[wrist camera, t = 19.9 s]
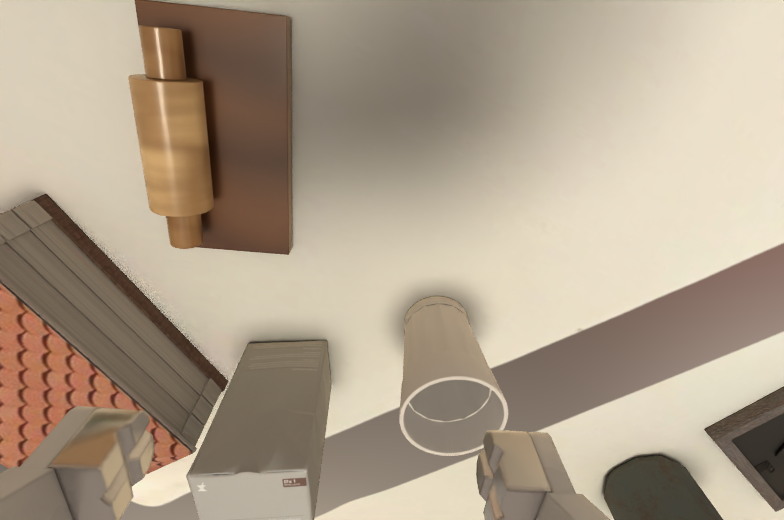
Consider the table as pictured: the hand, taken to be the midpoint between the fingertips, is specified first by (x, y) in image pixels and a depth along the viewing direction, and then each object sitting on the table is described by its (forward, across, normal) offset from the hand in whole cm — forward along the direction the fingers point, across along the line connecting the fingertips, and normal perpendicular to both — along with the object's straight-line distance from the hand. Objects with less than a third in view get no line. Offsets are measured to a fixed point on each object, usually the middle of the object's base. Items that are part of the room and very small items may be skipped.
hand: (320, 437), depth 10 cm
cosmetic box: (+27, +6, +21) cm, 35 cm away
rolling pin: (+25, +12, -1) cm, 28 cm away
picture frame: (+27, -52, +28) cm, 65 cm away
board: (+27, +11, -1) cm, 29 cm away
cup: (+27, -8, +15) cm, 32 cm away
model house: (+27, +26, +19) cm, 42 cm away
